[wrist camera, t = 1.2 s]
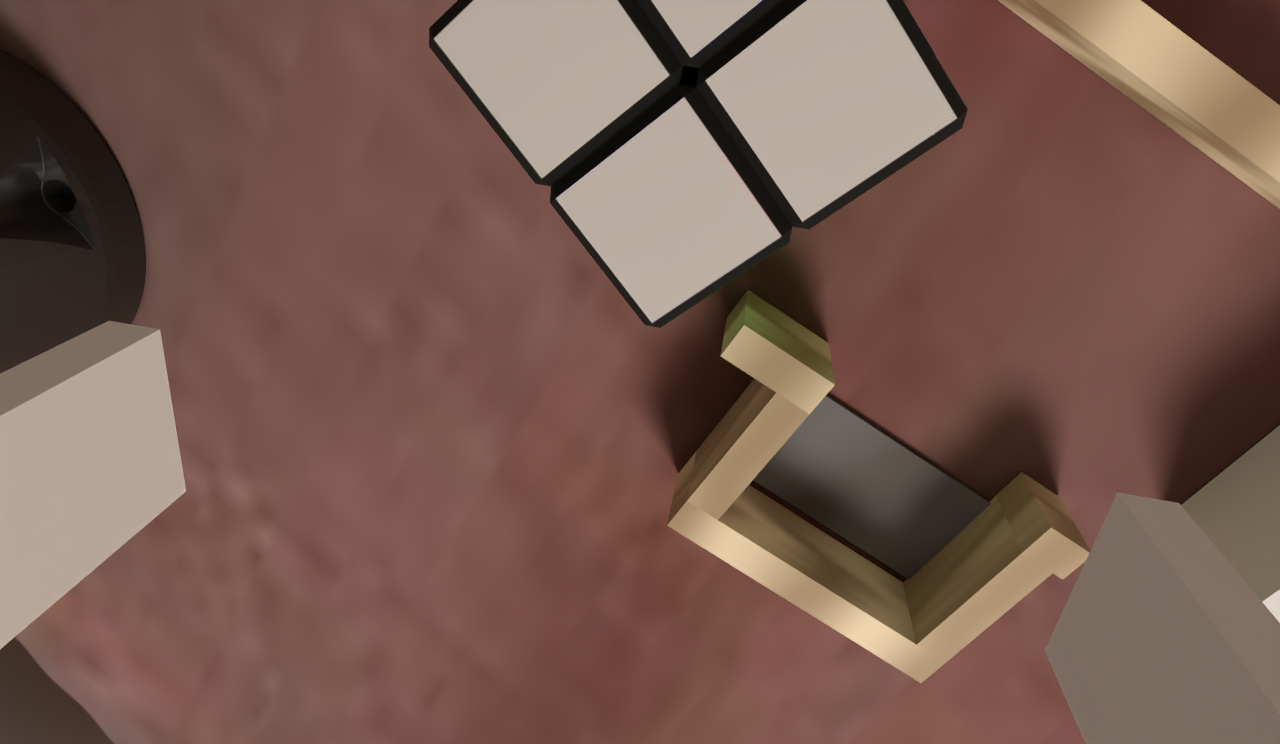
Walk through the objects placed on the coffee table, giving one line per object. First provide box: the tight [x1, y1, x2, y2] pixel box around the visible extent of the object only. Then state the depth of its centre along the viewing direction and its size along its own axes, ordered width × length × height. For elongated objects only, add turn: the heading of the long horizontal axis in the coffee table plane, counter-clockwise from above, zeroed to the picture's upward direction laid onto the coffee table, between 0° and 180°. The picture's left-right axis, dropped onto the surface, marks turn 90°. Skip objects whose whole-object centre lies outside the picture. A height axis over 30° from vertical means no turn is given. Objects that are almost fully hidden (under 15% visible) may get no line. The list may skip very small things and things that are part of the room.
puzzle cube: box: [429, 0, 968, 328], centre depth 24 cm, size 10×10×10 cm
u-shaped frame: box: [667, 0, 1280, 683], centre depth 30 cm, size 16×24×4 cm
